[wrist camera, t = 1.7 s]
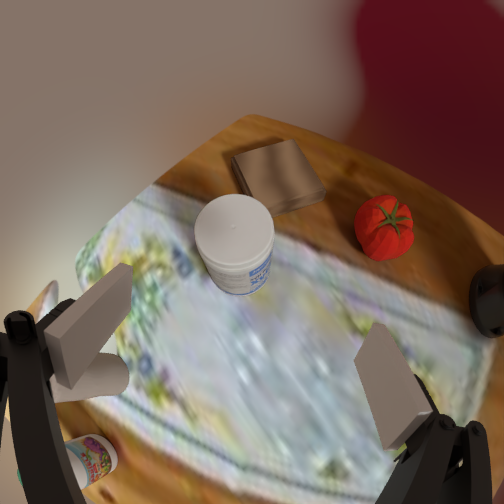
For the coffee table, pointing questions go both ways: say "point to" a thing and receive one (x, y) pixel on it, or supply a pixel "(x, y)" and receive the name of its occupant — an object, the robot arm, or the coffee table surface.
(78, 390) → the beige bookend
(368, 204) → the tomato
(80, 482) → the milk bottle
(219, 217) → the supplement tub
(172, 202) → the coffee table surface
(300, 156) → the plinth
